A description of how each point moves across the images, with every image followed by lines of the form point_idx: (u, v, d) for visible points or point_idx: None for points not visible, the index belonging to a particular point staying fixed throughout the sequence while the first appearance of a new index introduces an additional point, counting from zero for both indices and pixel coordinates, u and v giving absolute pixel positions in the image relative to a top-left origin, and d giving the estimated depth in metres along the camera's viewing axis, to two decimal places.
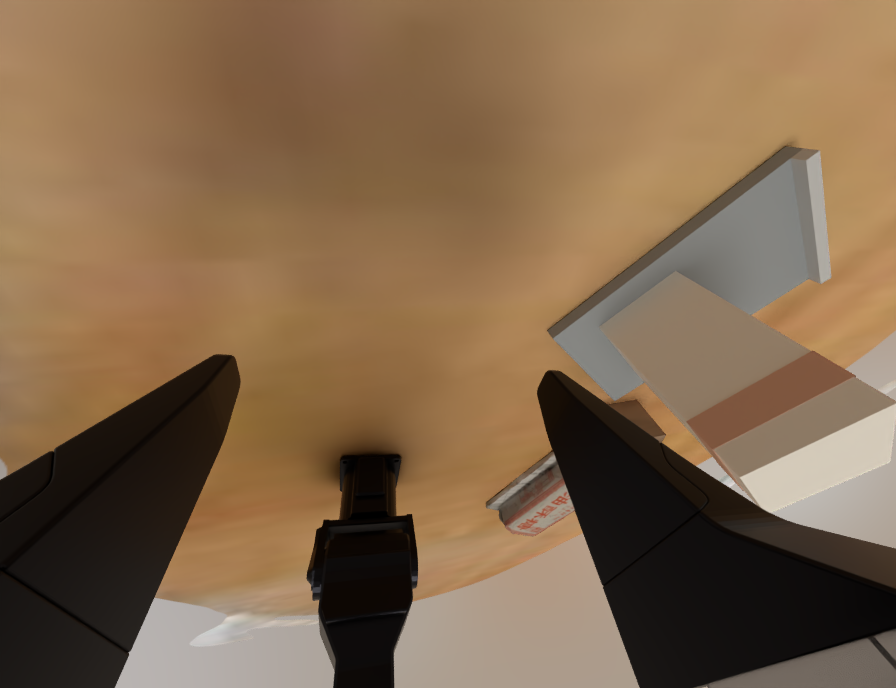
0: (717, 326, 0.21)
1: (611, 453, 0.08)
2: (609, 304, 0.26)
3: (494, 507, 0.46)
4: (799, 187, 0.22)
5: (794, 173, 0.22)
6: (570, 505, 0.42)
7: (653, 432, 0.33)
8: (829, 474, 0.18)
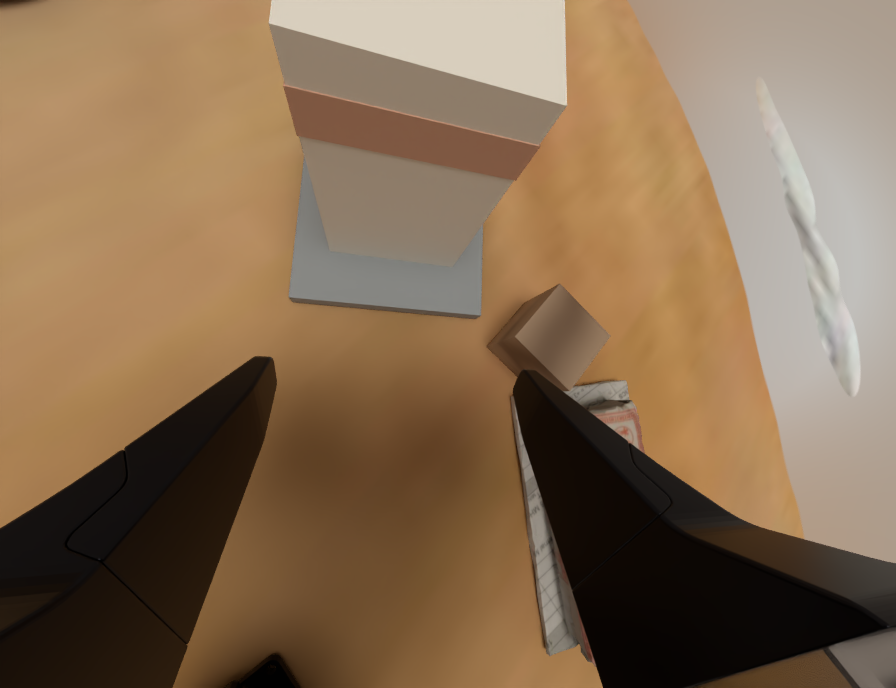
0: None
1: (579, 454, 0.07)
2: (310, 223, 0.21)
3: (562, 642, 0.22)
4: None
5: None
6: None
7: (546, 296, 0.21)
8: None
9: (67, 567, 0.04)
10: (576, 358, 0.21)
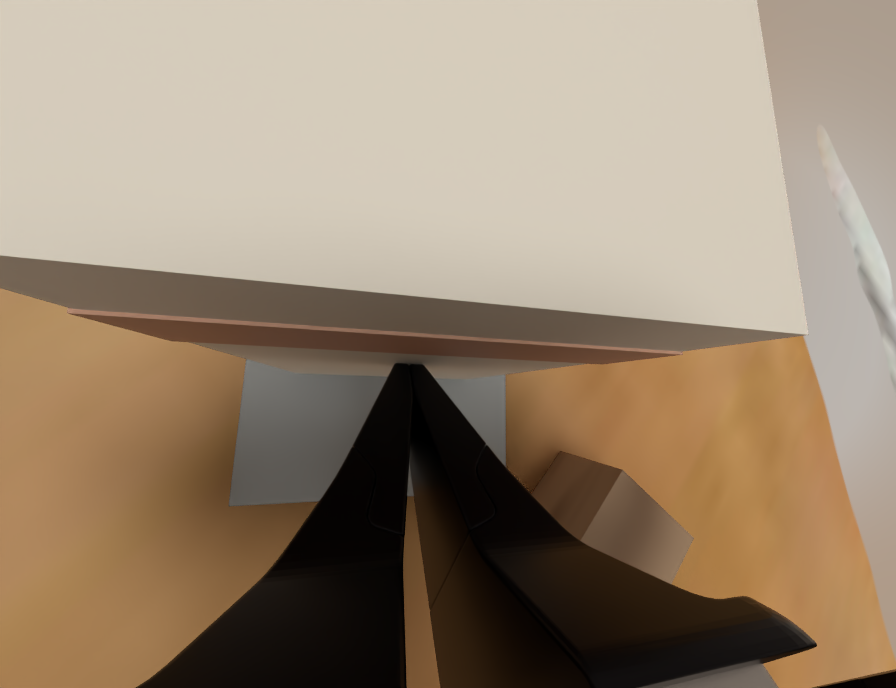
0: None
1: (431, 457, 0.07)
2: (262, 386, 0.15)
3: None
4: None
5: None
6: None
7: (603, 487, 0.15)
8: (613, 10, 0.04)
9: (385, 541, 0.04)
10: None
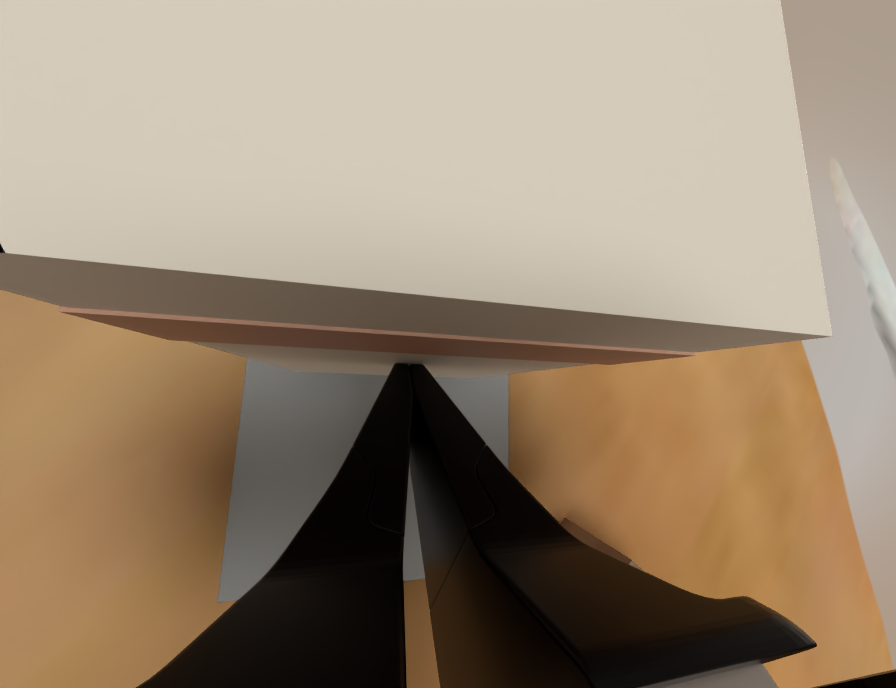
0: None
1: (431, 457, 0.07)
2: (253, 470, 0.14)
3: None
4: None
5: None
6: None
7: None
8: None
9: (385, 542, 0.04)
10: None
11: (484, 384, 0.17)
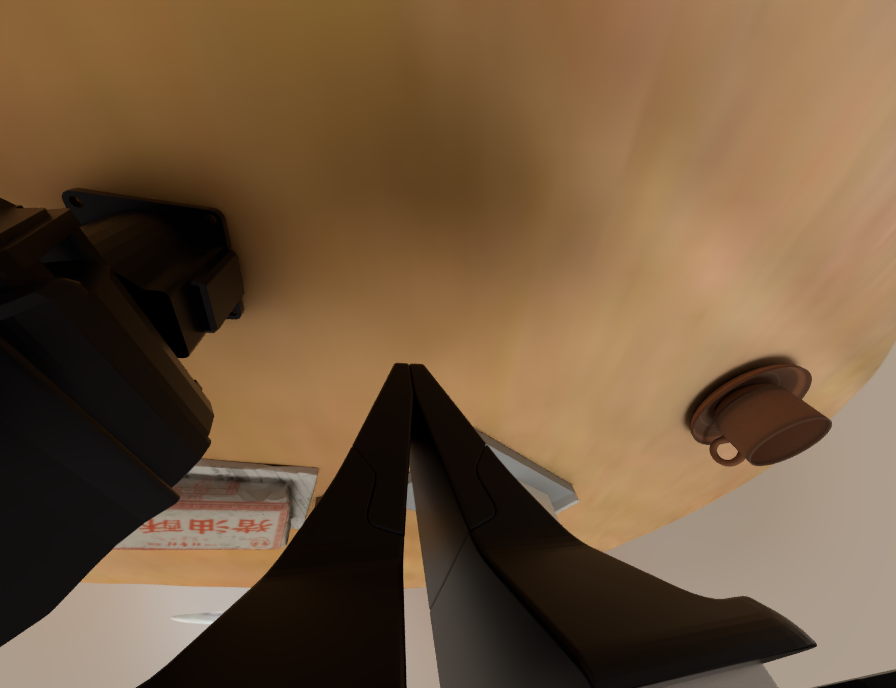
0: None
1: (431, 457, 0.07)
2: (500, 459, 0.33)
3: None
4: (558, 503, 0.41)
5: (565, 497, 0.40)
6: (199, 540, 0.28)
7: None
8: None
9: (385, 541, 0.04)
10: None
11: None
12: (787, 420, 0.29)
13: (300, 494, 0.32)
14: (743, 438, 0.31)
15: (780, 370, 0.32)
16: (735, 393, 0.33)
